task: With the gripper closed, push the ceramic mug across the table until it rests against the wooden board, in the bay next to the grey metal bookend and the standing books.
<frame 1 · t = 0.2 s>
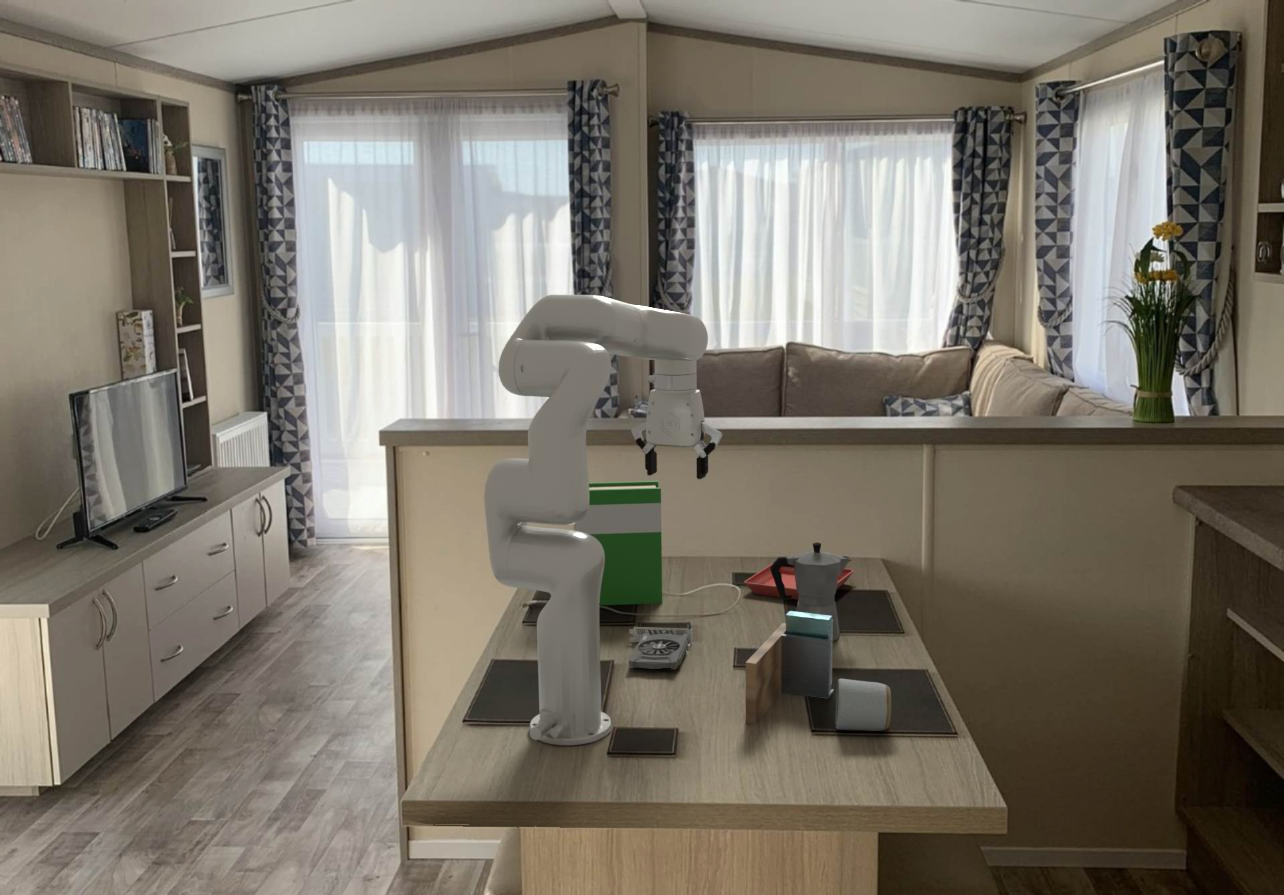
hand: (676, 475, 227), 31 cm above the table, tool pointing down, fingers open, 9 cm apart
coffeepot: (810, 636, 233), on the table
wooden board: (769, 700, 202), on the table
graphics card: (654, 661, 223), on the table
bookend and books: (805, 695, 204), on the table
plant saucer: (799, 591, 262), on the table
ceramic mug: (859, 725, 193), on the table
hardback book: (618, 599, 257), on the table
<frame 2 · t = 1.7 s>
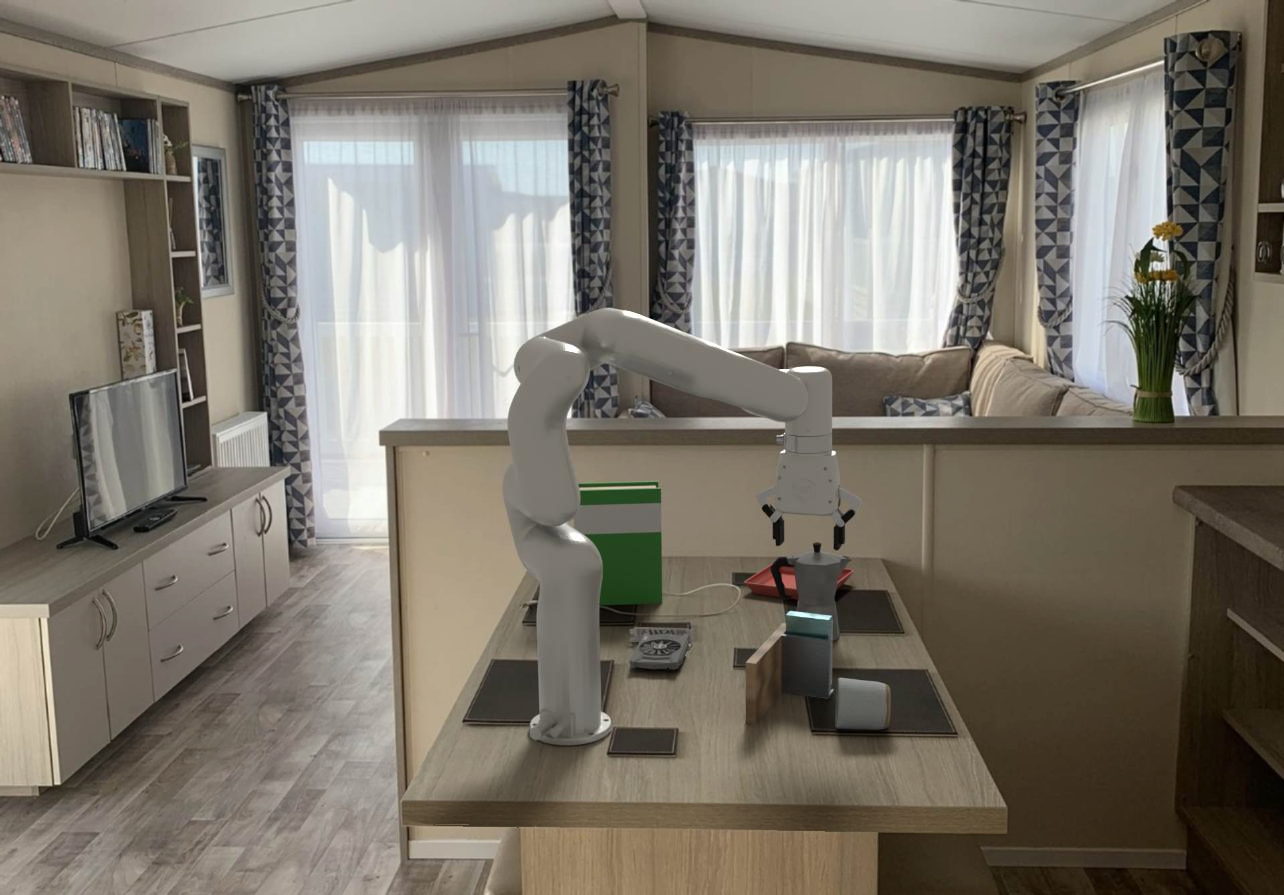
hand: (808, 546, 204), 24 cm above the table, tool pointing down, fingers open, 9 cm apart
nothing on the table moved.
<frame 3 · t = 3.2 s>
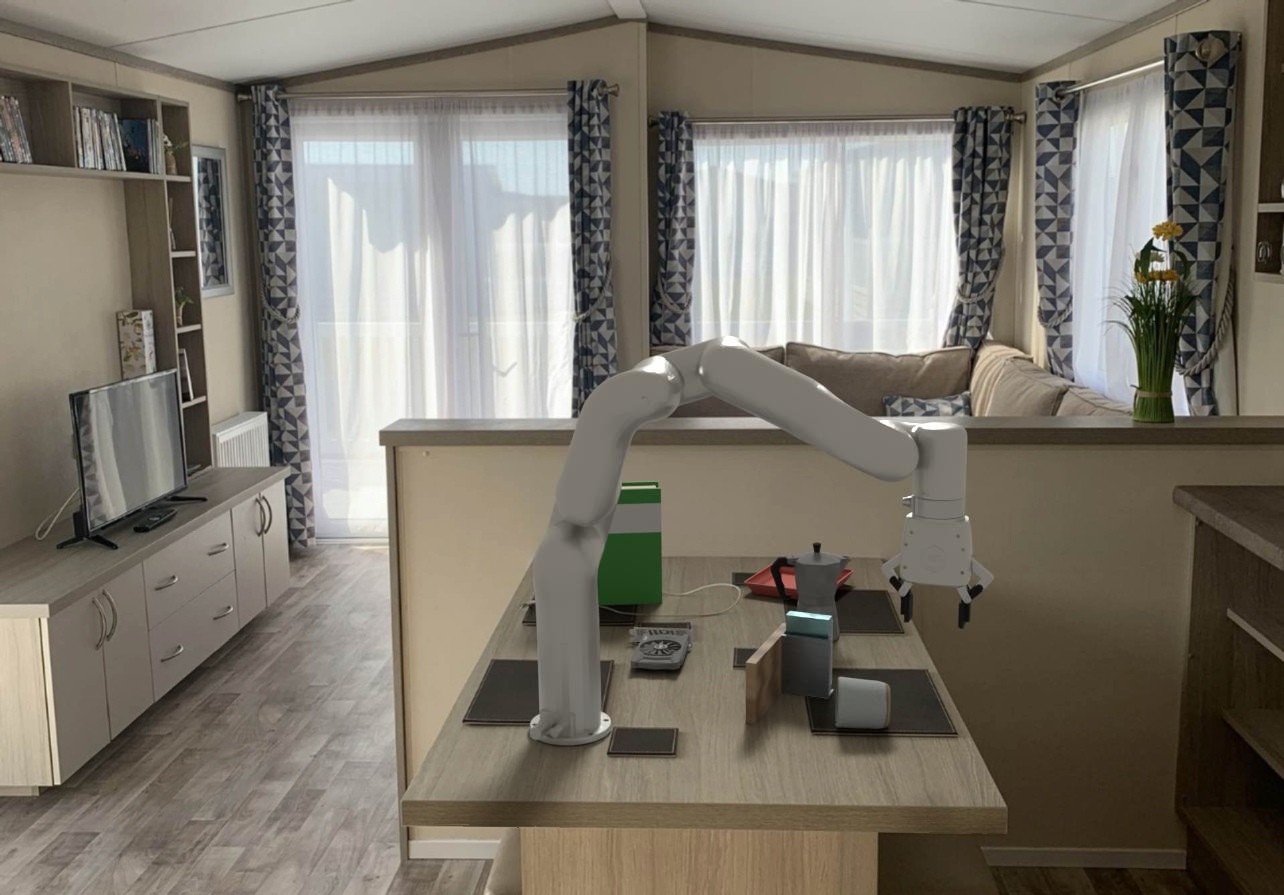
hand: (934, 622, 185), 18 cm above the table, tool pointing down, fingers open, 7 cm apart
nothing on the table moved.
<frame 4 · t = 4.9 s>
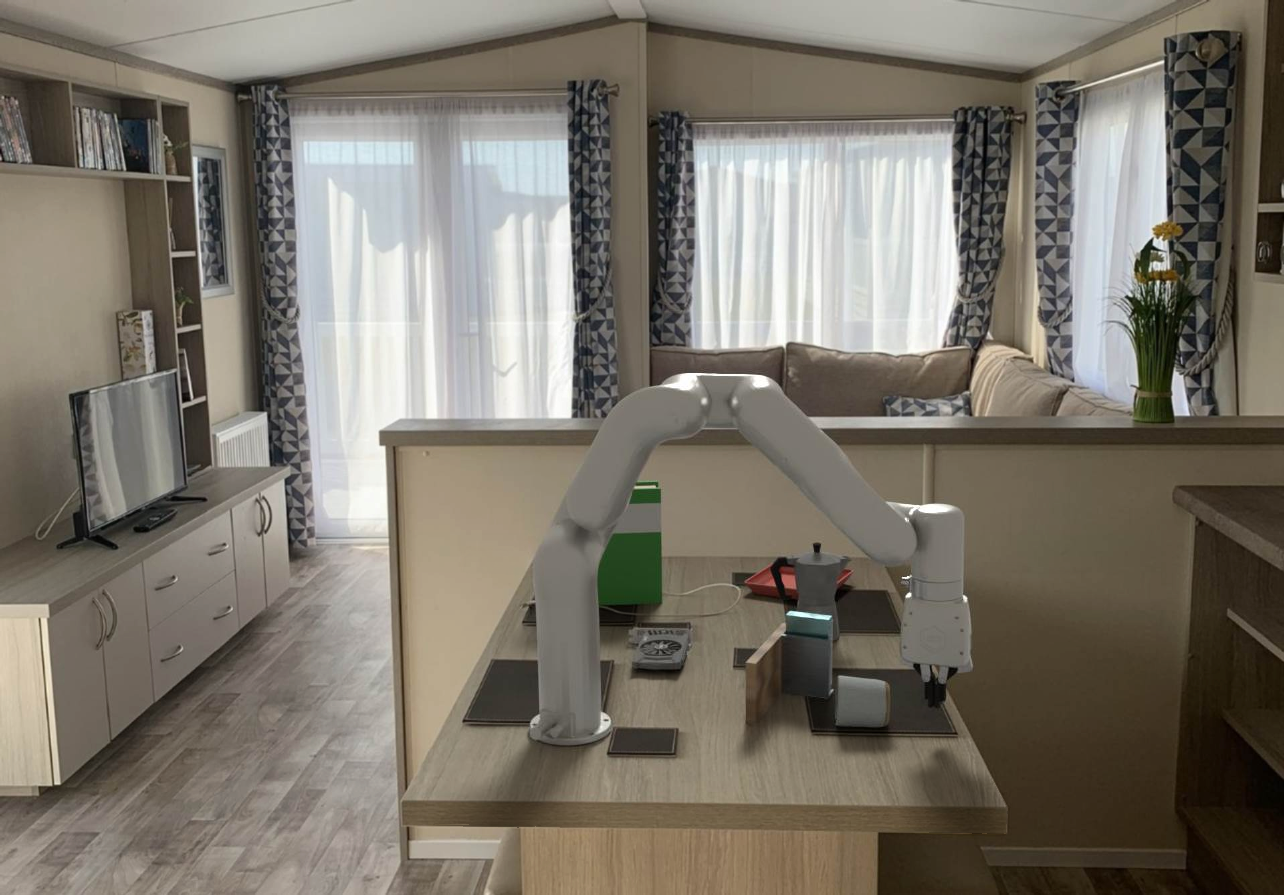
hand: (935, 704, 187), 5 cm above the table, tool pointing down, fingers closed
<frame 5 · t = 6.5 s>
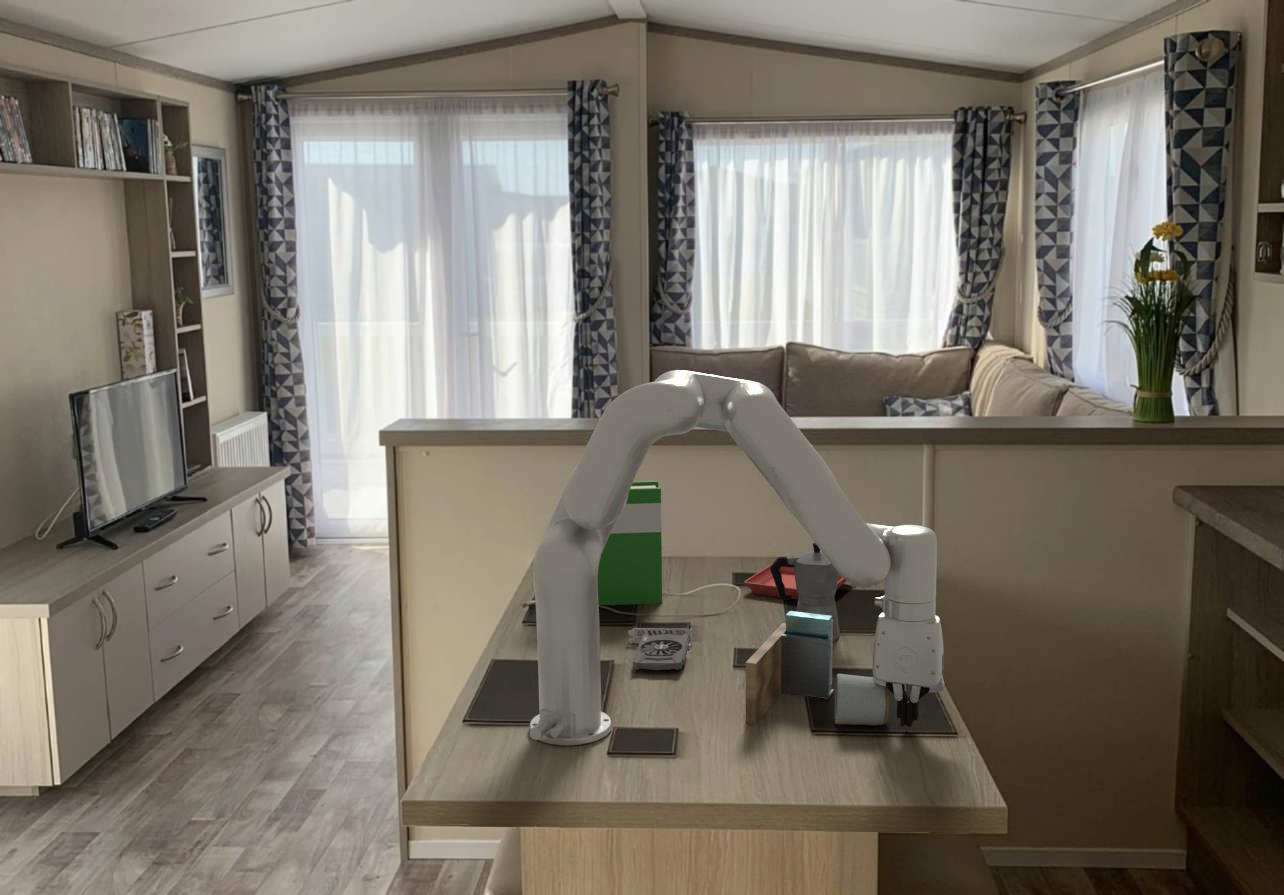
hand: (907, 722, 189), 1 cm above the table, tool pointing down, fingers closed
ceramic mug: (858, 720, 194), on the table, touching gripper
everything else where it was.
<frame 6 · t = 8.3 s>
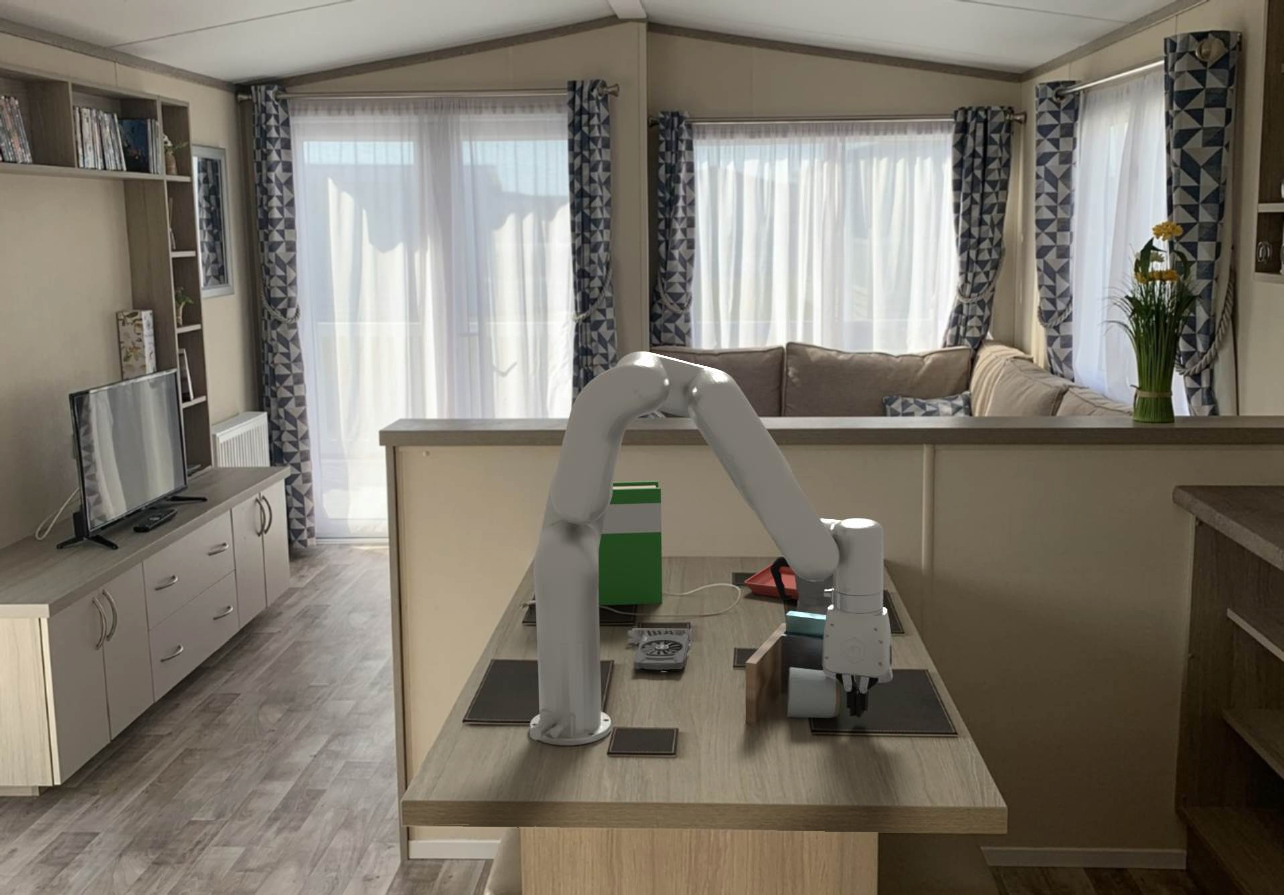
hand: (857, 713, 192), 2 cm above the table, tool pointing down, fingers closed
ceramic mug: (810, 713, 197), on the table, touching gripper
everything else where it was.
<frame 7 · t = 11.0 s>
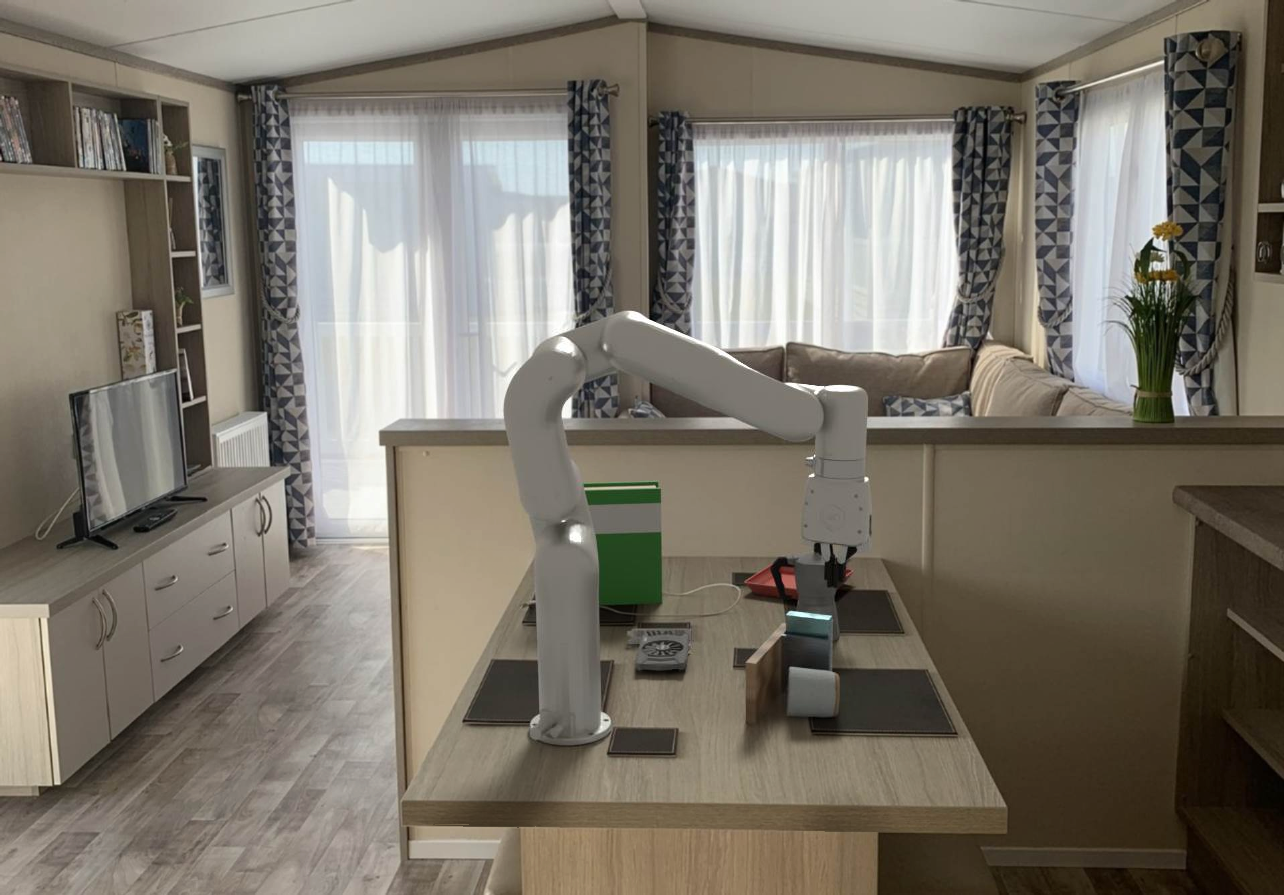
hand: (834, 585, 190), 22 cm above the table, tool pointing down, fingers closed
ceramic mug: (810, 712, 198), on the table
everything else where it was.
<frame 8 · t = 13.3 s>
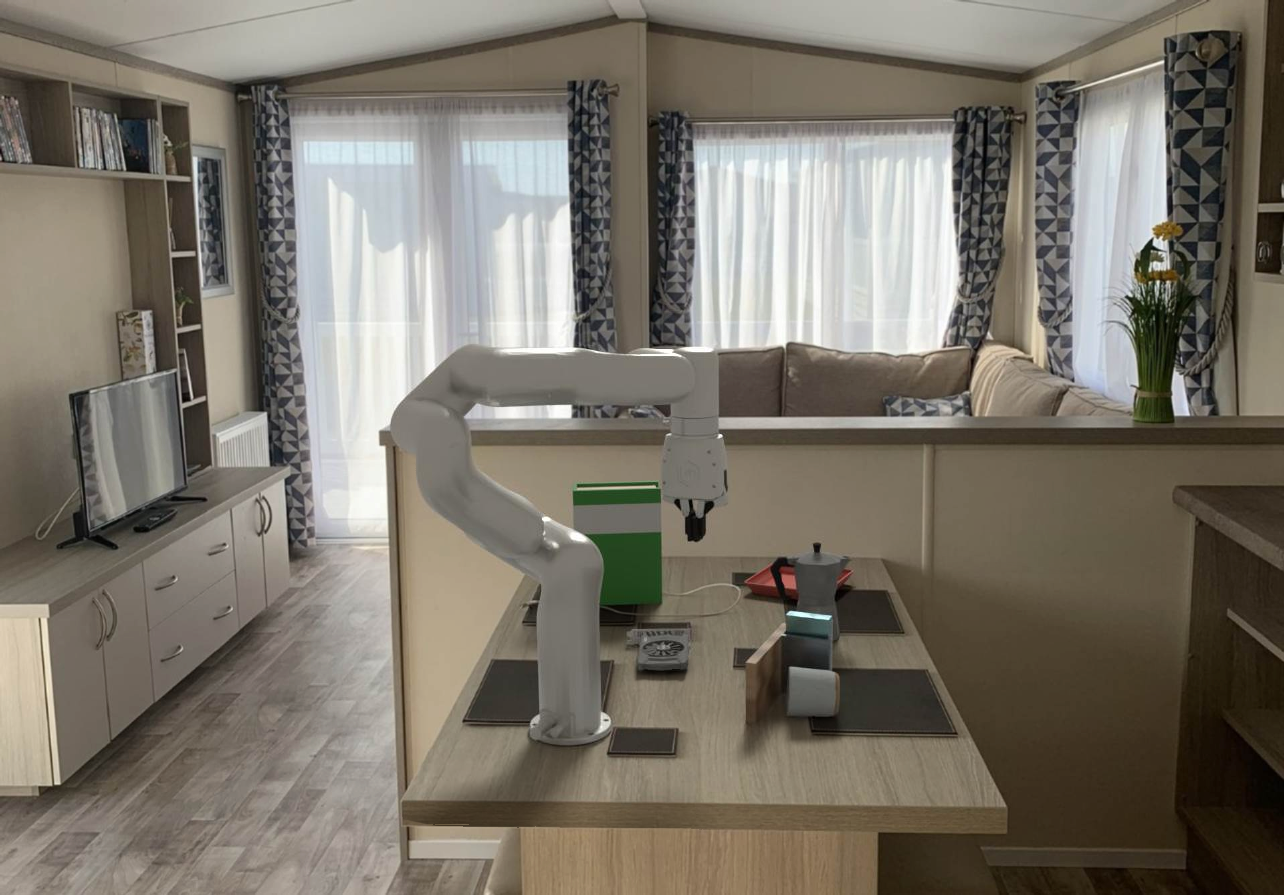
hand: (695, 539, 198), 27 cm above the table, tool pointing down, fingers closed
at the end: ceramic mug inside the target area (2.5 cm from its centre), on the table; ceramic mug tilted 1° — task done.
